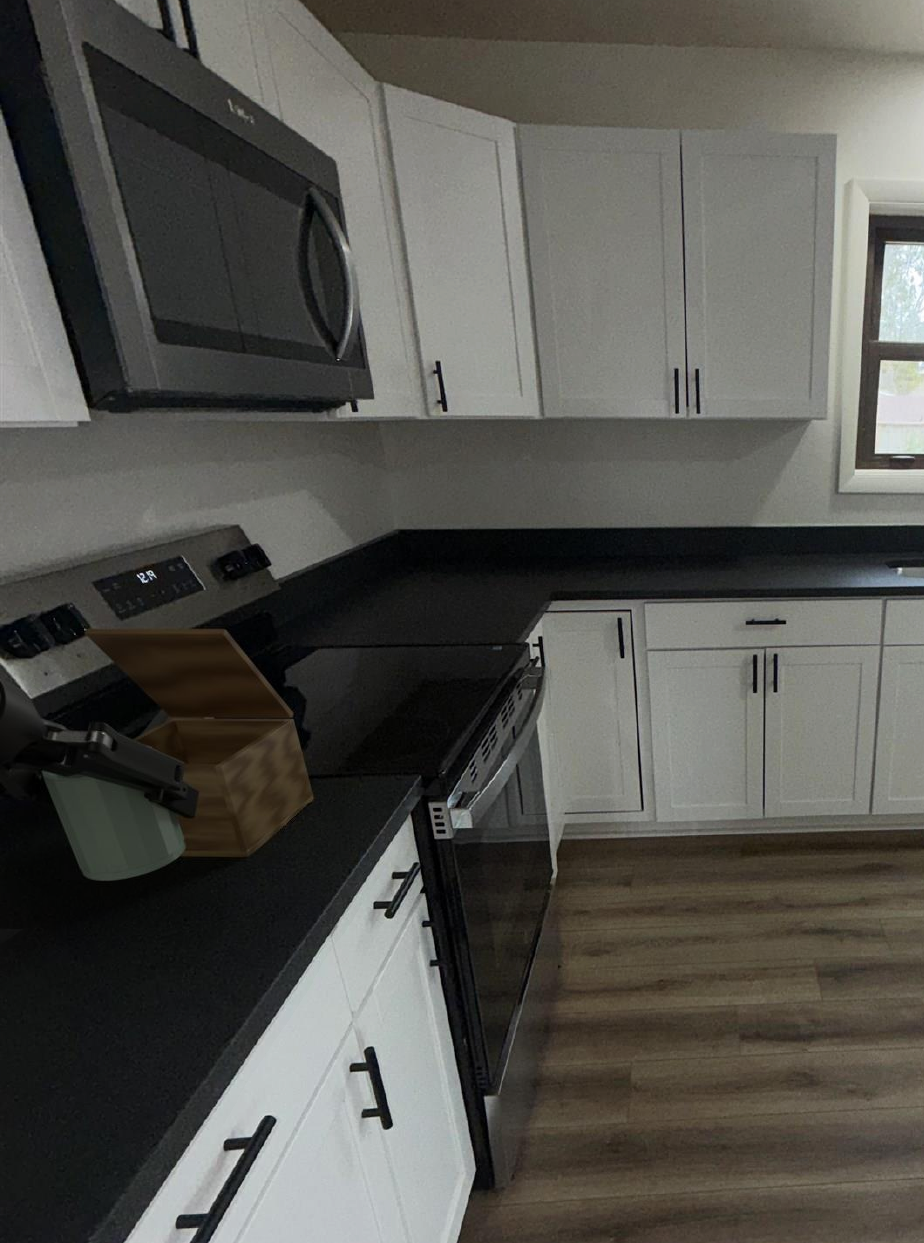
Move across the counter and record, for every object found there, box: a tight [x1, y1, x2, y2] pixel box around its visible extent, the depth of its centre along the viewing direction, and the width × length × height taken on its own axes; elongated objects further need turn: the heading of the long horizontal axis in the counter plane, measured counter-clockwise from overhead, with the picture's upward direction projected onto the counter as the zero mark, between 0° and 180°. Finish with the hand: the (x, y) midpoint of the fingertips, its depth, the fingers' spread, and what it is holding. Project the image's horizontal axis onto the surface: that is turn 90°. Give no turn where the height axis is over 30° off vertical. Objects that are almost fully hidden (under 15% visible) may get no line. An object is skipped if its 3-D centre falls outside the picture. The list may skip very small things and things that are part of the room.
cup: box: [41, 746, 186, 882], centre depth 74 cm, size 8×8×10 cm
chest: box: [132, 718, 315, 858], centre depth 104 cm, size 16×17×12 cm
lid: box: [84, 628, 294, 719], centre depth 101 cm, size 16×17×1 cm
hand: (143, 807), depth 77 cm, fingers closed on cup, 8 cm apart
